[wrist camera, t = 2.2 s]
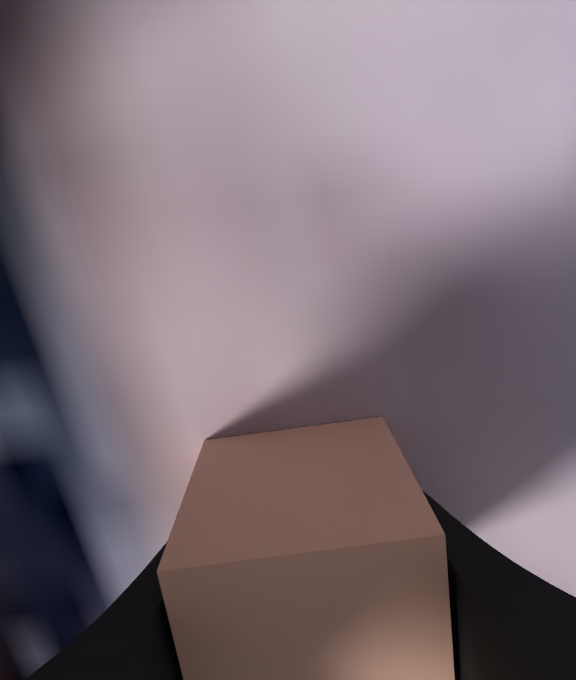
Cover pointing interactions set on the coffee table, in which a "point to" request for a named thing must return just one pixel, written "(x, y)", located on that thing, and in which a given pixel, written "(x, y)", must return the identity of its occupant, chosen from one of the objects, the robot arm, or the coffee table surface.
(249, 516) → the terracotta cube
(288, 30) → the coffee table surface
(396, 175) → the coffee table surface
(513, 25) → the coffee table surface
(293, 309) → the coffee table surface
